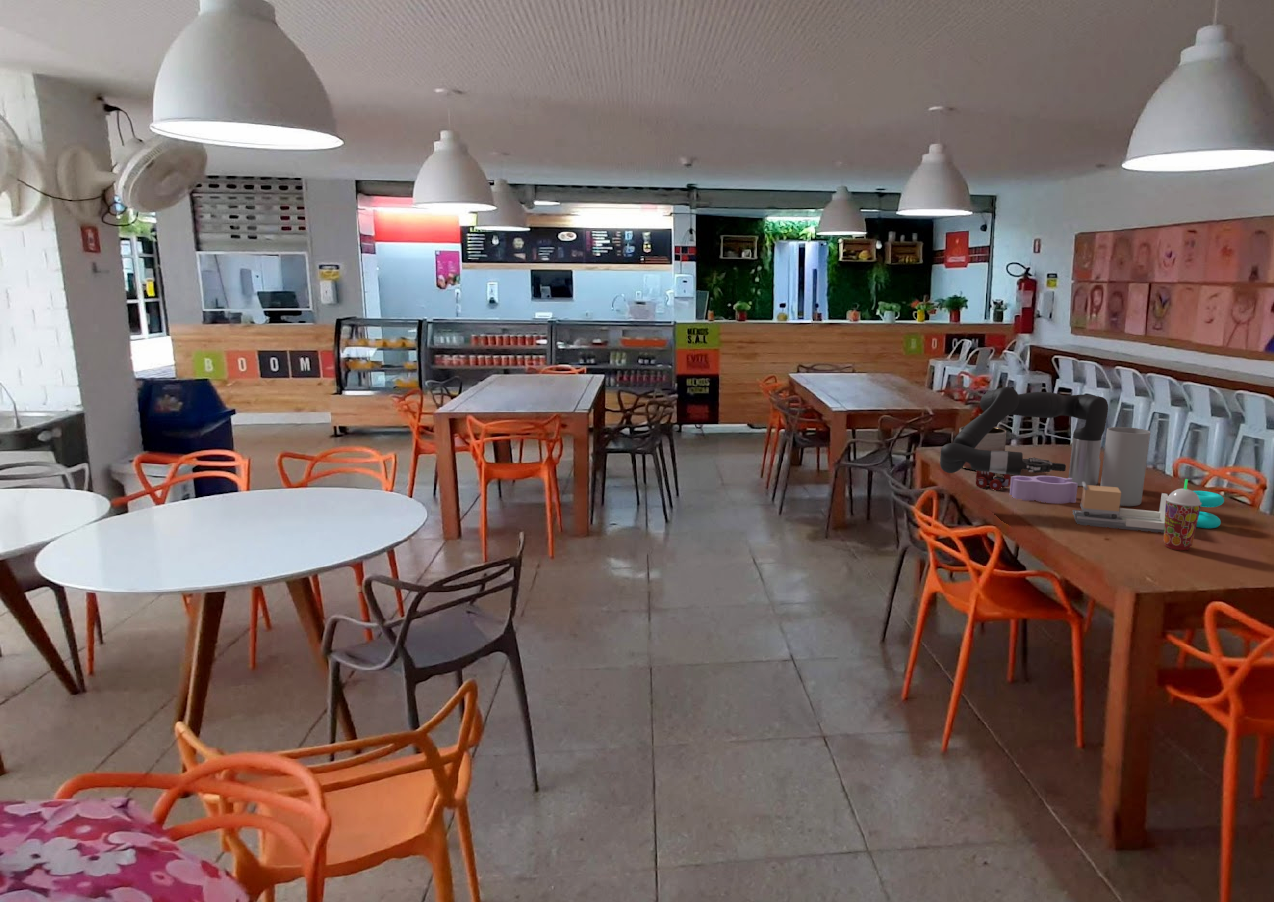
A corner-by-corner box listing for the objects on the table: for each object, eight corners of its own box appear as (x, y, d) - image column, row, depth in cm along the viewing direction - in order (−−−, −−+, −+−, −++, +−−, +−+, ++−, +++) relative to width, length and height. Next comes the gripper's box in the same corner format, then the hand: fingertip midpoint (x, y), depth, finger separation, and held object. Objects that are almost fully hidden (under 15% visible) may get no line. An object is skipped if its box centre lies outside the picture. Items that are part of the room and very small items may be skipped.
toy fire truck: (1005, 492, 288) (1007, 464, 286) (970, 486, 297) (973, 459, 295) (1012, 489, 293) (1015, 461, 291) (978, 483, 302) (980, 456, 299)
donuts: (1184, 488, 254) (1223, 492, 249) (1180, 518, 256) (1218, 523, 251) (1185, 495, 246) (1226, 499, 240) (1181, 526, 248) (1221, 531, 242)
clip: (1014, 501, 277) (1016, 482, 275) (1006, 492, 288) (1008, 474, 287) (1078, 505, 272) (1080, 485, 271) (1067, 495, 284) (1069, 476, 283)
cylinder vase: (1102, 505, 271) (1111, 432, 266) (1095, 496, 283) (1103, 426, 278) (1145, 508, 267) (1154, 434, 262) (1136, 499, 279) (1145, 428, 273)
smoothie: (1152, 543, 232) (1161, 476, 228) (1179, 542, 232) (1189, 475, 228) (1174, 552, 224) (1183, 483, 219) (1202, 551, 224) (1212, 482, 220)
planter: (1006, 465, 330) (1010, 428, 326) (999, 474, 315) (1003, 435, 312) (961, 460, 339) (963, 424, 336) (952, 469, 324) (955, 430, 321)
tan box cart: (1078, 510, 259) (1081, 481, 257) (1115, 513, 255) (1118, 484, 253) (1081, 516, 252) (1084, 486, 250) (1118, 519, 248) (1122, 489, 246)
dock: (1072, 512, 263) (1075, 486, 261) (1162, 521, 253) (1166, 493, 251) (1076, 524, 250) (1079, 496, 248) (1171, 533, 240) (1175, 504, 238)
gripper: (1007, 455, 254) (1068, 460, 248) (1006, 447, 266) (1064, 452, 260) (1004, 478, 256) (1065, 483, 249) (1004, 469, 268) (1062, 474, 261)
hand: (1065, 467), depth 254 cm, fingers closed
